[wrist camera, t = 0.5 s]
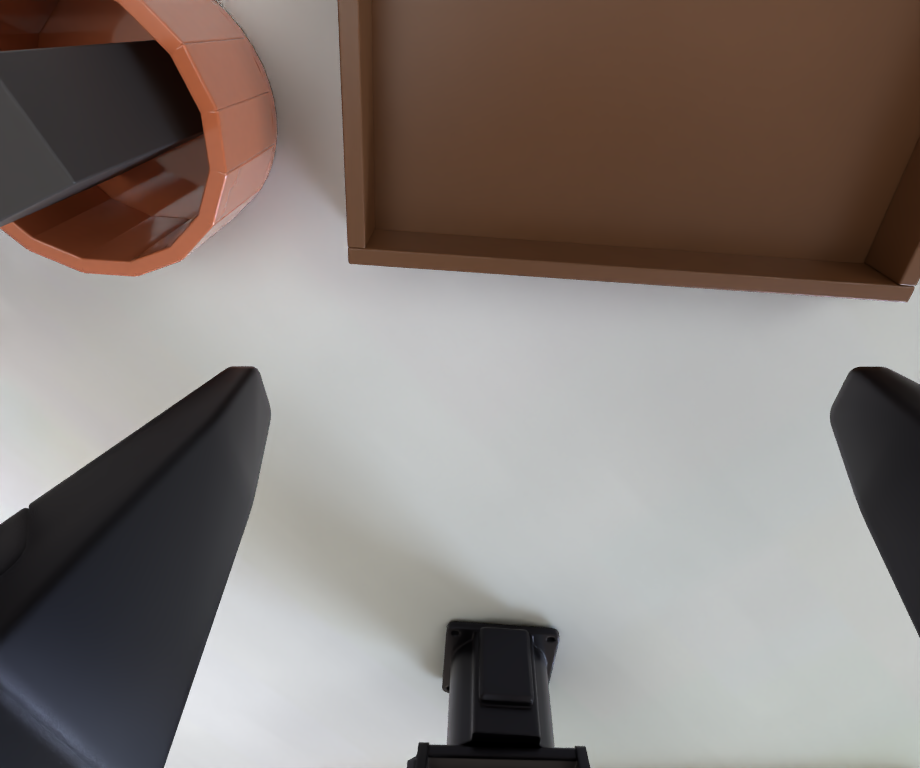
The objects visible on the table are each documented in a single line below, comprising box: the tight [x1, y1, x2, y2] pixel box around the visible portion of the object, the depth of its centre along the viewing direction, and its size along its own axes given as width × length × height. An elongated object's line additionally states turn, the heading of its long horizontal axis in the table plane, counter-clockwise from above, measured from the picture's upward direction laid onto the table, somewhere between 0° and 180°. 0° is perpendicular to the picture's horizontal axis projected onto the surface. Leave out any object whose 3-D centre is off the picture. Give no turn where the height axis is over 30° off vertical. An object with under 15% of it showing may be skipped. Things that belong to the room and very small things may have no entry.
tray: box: [338, 0, 920, 302], centre depth 18 cm, size 14×19×3 cm
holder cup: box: [0, 0, 277, 276], centre depth 18 cm, size 8×8×5 cm
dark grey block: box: [0, 40, 204, 227], centre depth 16 cm, size 3×5×9 cm, turn 113°
